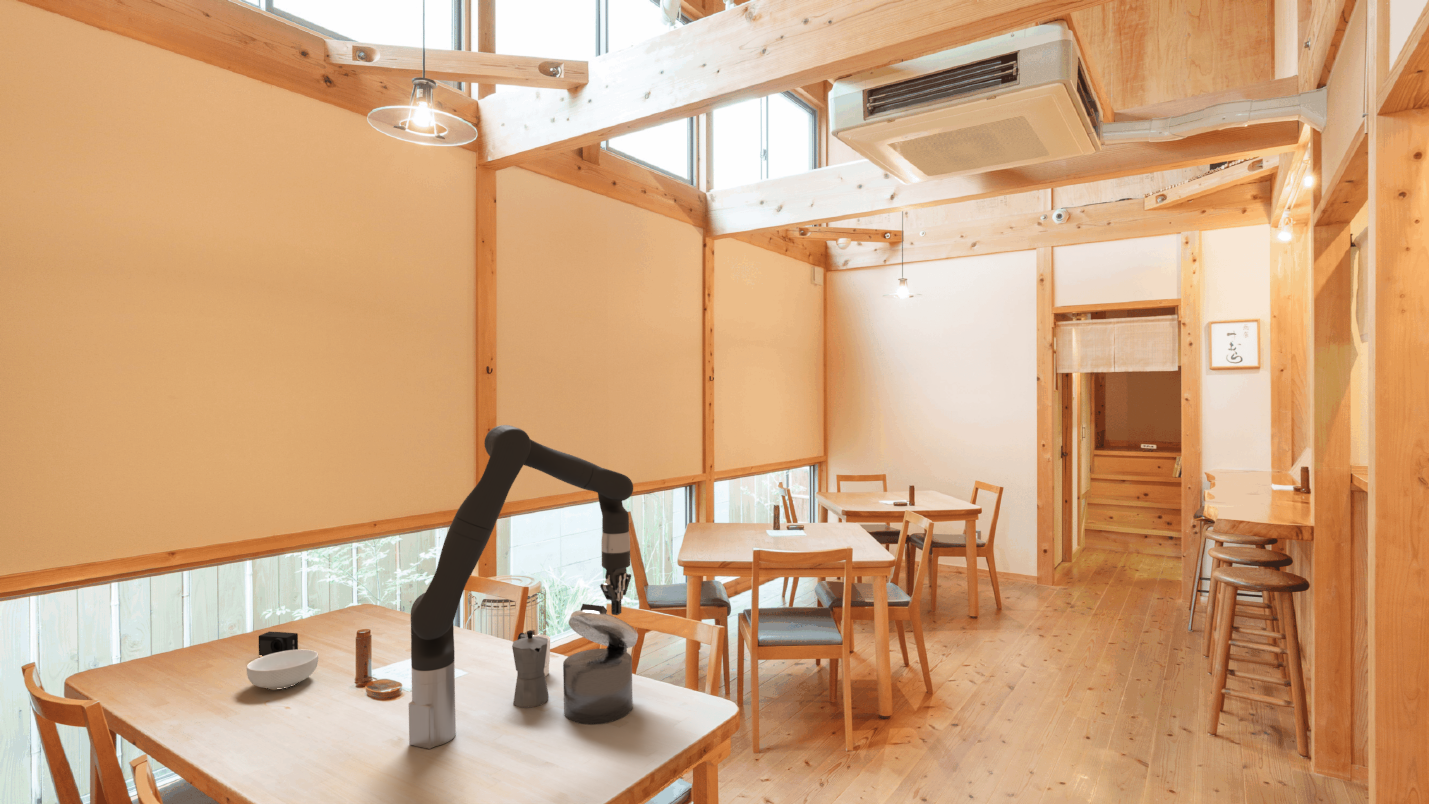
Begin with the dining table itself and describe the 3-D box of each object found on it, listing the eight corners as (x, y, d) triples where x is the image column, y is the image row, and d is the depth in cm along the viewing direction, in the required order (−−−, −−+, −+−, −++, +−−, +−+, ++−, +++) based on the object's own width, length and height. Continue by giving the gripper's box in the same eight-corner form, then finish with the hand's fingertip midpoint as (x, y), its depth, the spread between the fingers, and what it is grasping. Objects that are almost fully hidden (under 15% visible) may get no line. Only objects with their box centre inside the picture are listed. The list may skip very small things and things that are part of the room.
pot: (611, 729, 162) (610, 678, 162) (550, 717, 168) (549, 668, 168) (647, 696, 179) (647, 650, 179) (591, 687, 186) (590, 642, 186)
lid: (620, 620, 165) (624, 607, 167) (556, 612, 172) (561, 601, 174) (647, 653, 178) (650, 641, 180) (587, 645, 185) (591, 633, 187)
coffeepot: (557, 704, 175) (556, 634, 175) (521, 714, 170) (520, 641, 170) (537, 684, 188) (536, 618, 188) (502, 692, 183) (501, 625, 183)
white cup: (546, 680, 191) (546, 644, 191) (518, 680, 191) (517, 644, 191) (553, 669, 199) (553, 634, 199) (526, 669, 199) (526, 634, 199)
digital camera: (254, 659, 210) (254, 636, 210) (269, 653, 215) (269, 630, 215) (283, 661, 208) (283, 638, 208) (298, 655, 213) (297, 632, 213)
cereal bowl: (331, 673, 198) (331, 648, 198) (290, 698, 182) (290, 671, 182) (277, 671, 200) (276, 647, 200) (231, 696, 183) (230, 669, 183)
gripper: (616, 555, 175) (616, 623, 175) (640, 544, 187) (640, 608, 187) (590, 552, 177) (591, 620, 177) (615, 543, 190) (616, 605, 190)
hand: (616, 614), depth 182 cm, fingers closed
